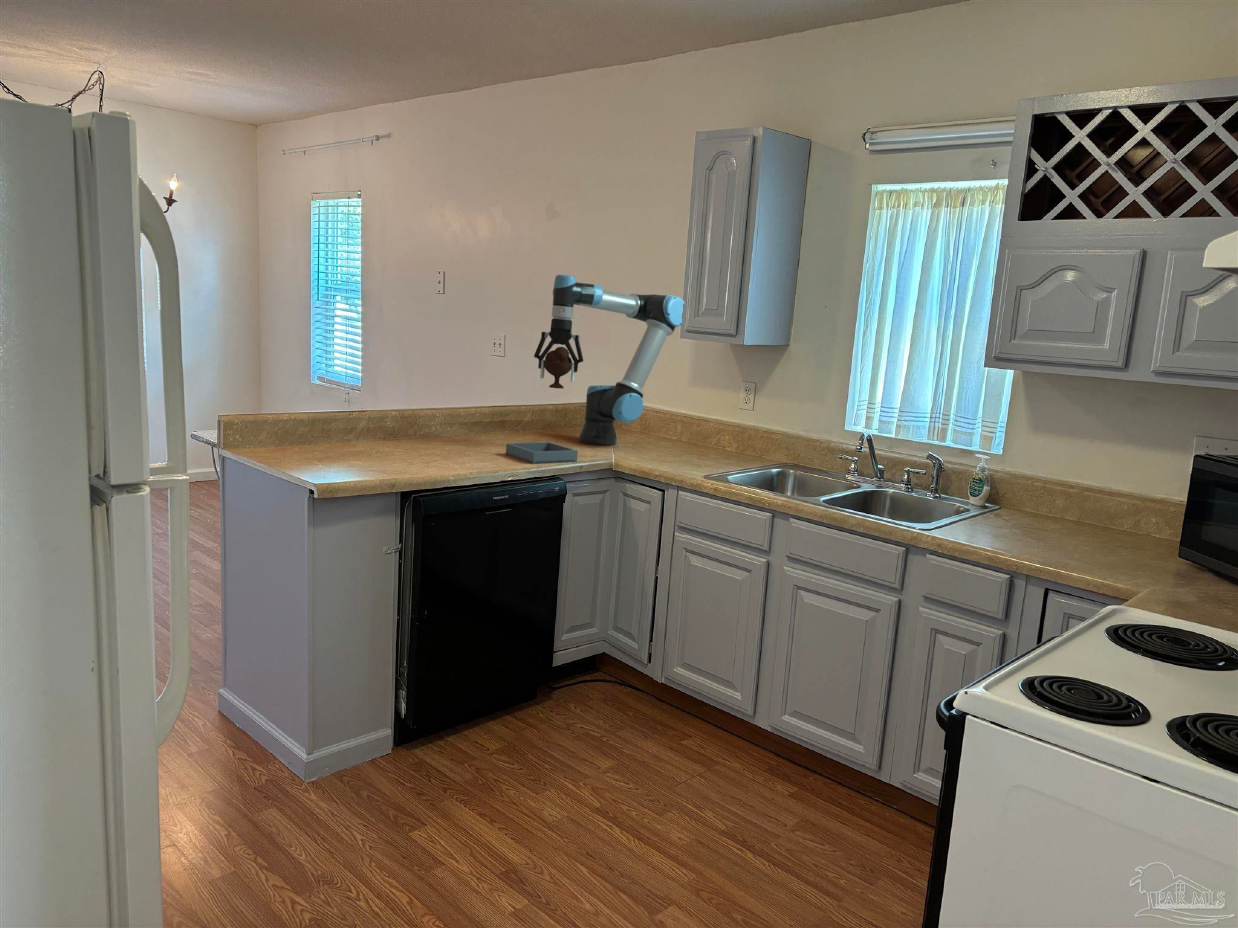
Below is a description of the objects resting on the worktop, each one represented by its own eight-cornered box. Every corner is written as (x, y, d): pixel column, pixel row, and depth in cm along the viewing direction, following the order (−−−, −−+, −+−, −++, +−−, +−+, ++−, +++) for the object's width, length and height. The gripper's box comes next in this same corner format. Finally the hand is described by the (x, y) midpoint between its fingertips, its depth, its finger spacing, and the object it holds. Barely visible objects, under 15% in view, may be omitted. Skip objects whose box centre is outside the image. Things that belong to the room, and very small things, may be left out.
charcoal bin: (548, 452, 320) (549, 441, 320) (576, 461, 306) (577, 450, 306) (505, 454, 309) (506, 443, 308) (533, 464, 295) (533, 452, 295)
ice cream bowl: (573, 388, 327) (576, 347, 324) (567, 390, 316) (571, 348, 313) (545, 385, 328) (548, 344, 325) (539, 387, 317) (542, 345, 314)
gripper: (528, 315, 316) (523, 377, 319) (591, 321, 313) (586, 383, 316) (533, 316, 323) (528, 375, 326) (595, 321, 320) (589, 382, 323)
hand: (557, 379), depth 321 cm, fingers closed on ice cream bowl, 11 cm apart
